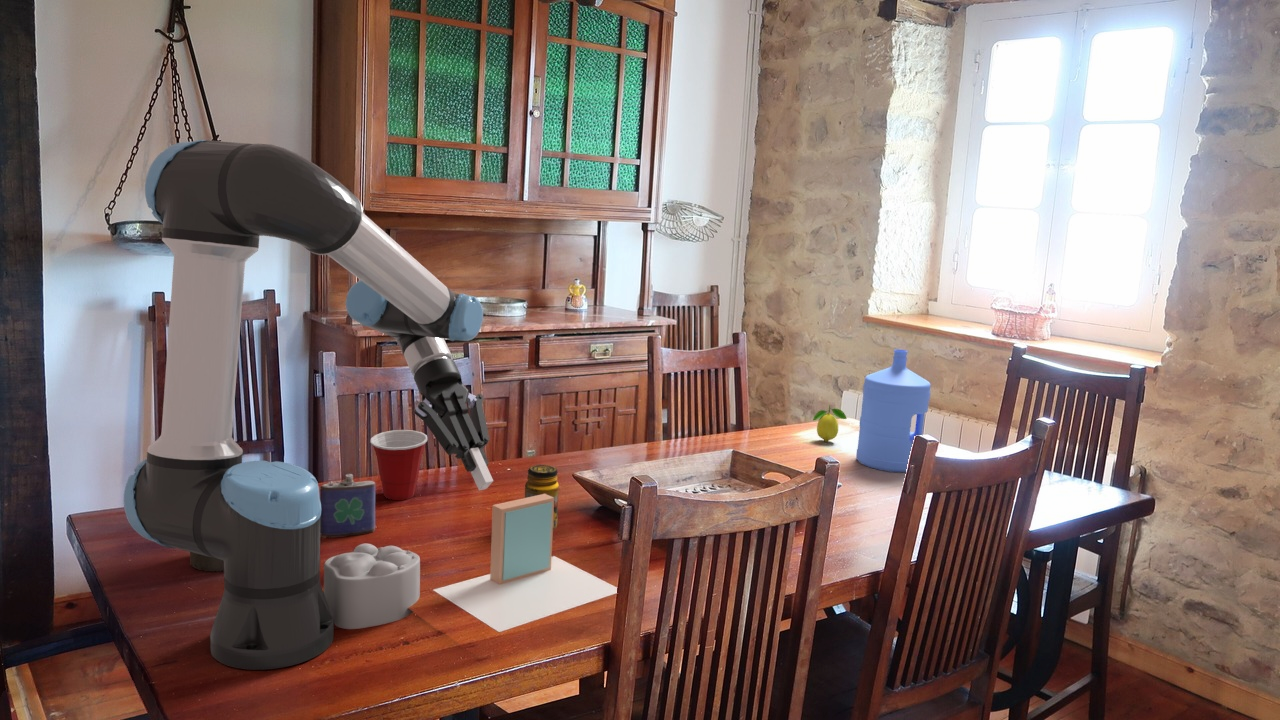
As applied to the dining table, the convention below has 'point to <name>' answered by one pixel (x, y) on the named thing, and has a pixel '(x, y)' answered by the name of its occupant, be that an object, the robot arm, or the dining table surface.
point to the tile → (521, 538)
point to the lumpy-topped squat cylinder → (371, 585)
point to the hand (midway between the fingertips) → (486, 485)
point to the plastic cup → (399, 461)
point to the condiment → (543, 485)
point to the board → (527, 595)
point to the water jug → (891, 415)
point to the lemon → (828, 423)
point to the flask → (347, 508)
